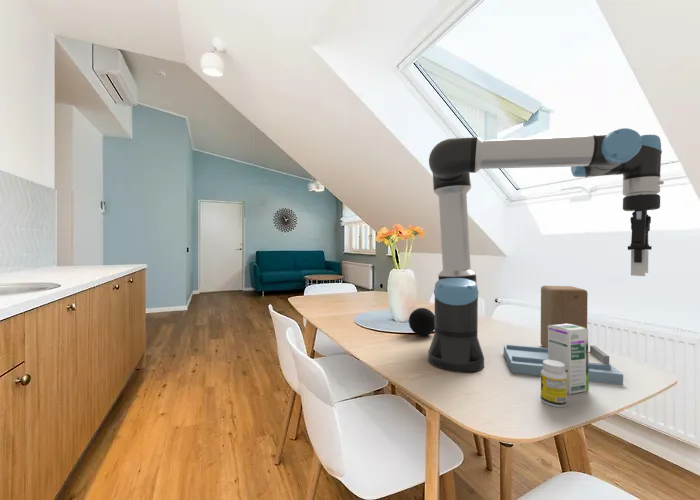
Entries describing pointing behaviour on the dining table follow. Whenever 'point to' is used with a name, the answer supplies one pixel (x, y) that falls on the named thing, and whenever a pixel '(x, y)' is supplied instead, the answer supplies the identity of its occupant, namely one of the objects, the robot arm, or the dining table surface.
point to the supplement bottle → (554, 383)
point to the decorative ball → (422, 321)
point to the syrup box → (570, 354)
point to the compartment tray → (533, 357)
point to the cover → (597, 356)
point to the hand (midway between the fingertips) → (639, 274)
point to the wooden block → (562, 308)
